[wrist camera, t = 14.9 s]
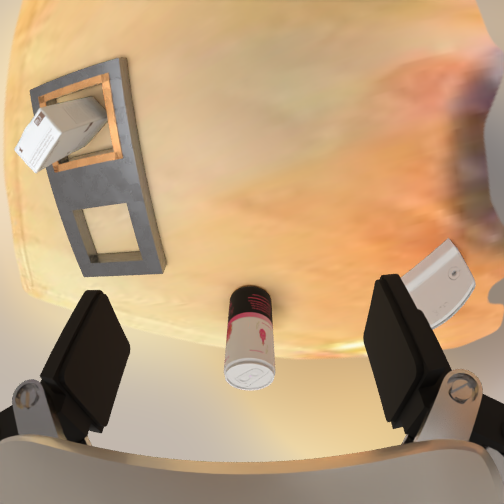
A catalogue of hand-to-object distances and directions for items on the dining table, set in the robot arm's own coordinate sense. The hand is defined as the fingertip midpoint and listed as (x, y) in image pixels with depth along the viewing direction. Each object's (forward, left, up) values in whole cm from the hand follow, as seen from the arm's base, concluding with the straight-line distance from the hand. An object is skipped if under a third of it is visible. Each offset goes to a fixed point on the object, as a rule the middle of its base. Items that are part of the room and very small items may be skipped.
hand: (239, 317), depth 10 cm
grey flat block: (+3, -21, -30) cm, 37 cm away
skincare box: (-5, -21, -31) cm, 37 cm away
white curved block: (+25, +28, -31) cm, 48 cm away
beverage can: (+26, -2, -31) cm, 40 cm away
